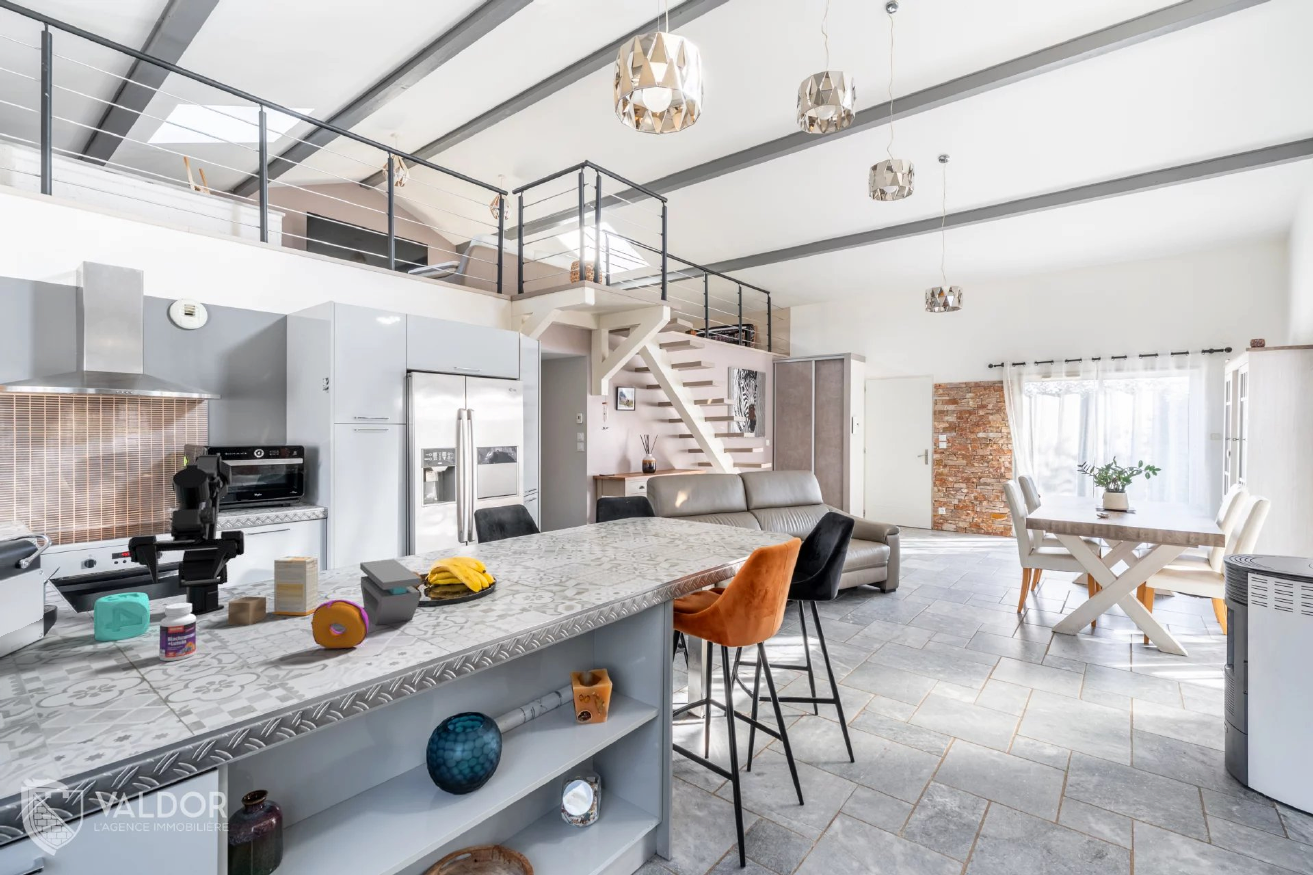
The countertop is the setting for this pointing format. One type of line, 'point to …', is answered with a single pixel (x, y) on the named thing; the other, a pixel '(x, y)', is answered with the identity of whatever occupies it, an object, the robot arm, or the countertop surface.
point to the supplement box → (295, 585)
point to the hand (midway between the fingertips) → (184, 580)
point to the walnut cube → (246, 610)
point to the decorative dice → (121, 616)
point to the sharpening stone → (389, 591)
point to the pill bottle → (177, 633)
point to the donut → (341, 614)
